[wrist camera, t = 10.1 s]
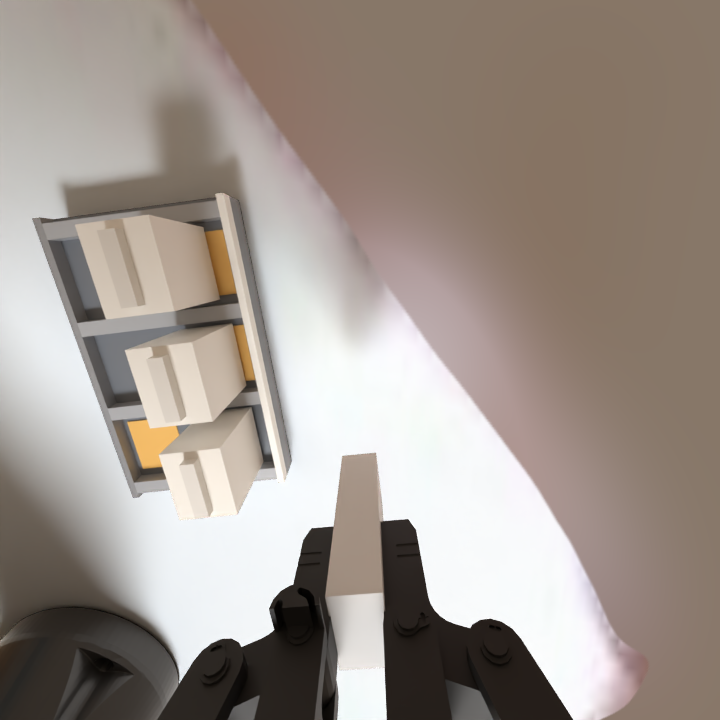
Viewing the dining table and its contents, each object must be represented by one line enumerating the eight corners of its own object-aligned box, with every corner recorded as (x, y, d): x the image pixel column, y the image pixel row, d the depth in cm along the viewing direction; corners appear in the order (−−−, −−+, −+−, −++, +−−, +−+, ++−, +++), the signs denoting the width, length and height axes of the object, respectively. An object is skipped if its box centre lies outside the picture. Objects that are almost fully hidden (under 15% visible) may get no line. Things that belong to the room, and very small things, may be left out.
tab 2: (197, 391, 20) (143, 433, 15) (180, 329, 19) (116, 353, 14) (246, 385, 20) (208, 426, 15) (232, 323, 19) (186, 344, 14)
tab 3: (218, 465, 22) (174, 527, 17) (203, 412, 21) (152, 460, 16) (263, 461, 22) (233, 521, 17) (251, 406, 21) (215, 453, 16)
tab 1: (168, 305, 19) (97, 321, 14) (148, 234, 18) (63, 223, 13) (220, 299, 19) (168, 312, 14) (203, 227, 18) (140, 212, 13)
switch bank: (153, 476, 24) (133, 497, 22) (69, 223, 20) (32, 218, 17) (291, 461, 24) (284, 482, 22) (238, 200, 19) (223, 192, 17)
